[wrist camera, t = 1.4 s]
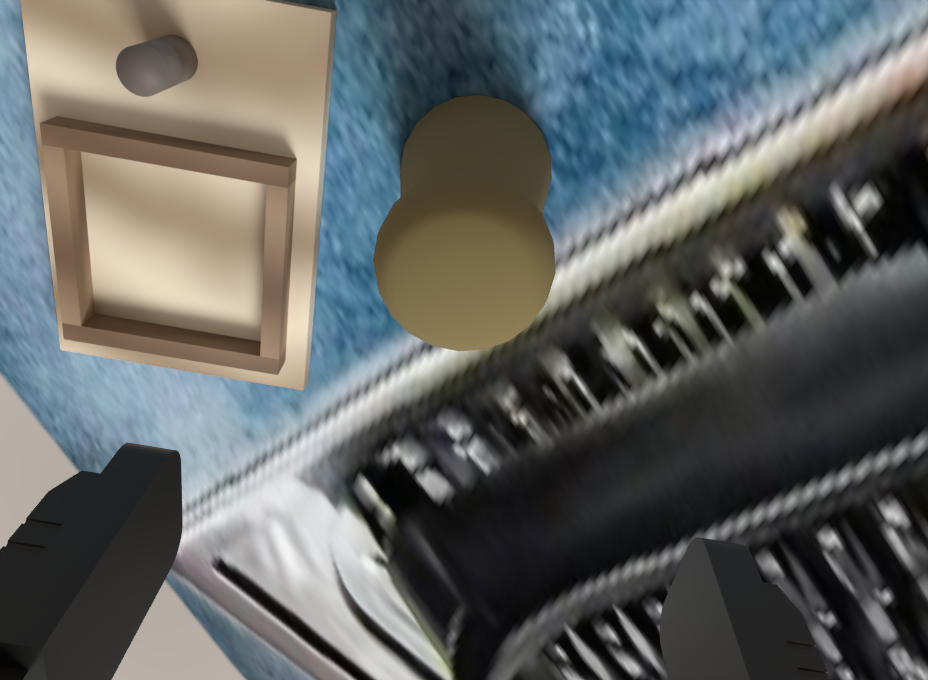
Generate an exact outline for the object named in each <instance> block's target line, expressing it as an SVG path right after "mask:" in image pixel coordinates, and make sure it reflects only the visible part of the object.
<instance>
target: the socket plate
mask: <svg viewBox="0 0 928 680" xmlns="http://www.w3.org/2000/svg"><path fill="white" fill-rule="evenodd" d="M21 9H22V18H23V27H24V35H25V44H26V53H27V61H28V70H29V79H30V88H31V96H32V105H33V114H34V122H35V131H36V140H37V148H38V157H39V166H40V175H41V183H42V192H43V201H44V209H45V218H46V227H47V236H48V244H49V253H50V262H51V270H52V279H53V288H54V296H55V305H56V314H57V323H58V331H59V340H60V349H61V350H64V351H70V352H76V353H82V354H88V355H94V356H100V357H106V358H112V359H118V360H124V361H130V362H136V363H142V364H148V365H154V366H160V367H166V368H172V369H178V370H184V371H190V372H196V373H202V374H208V375H214V376H220V377H226V378H232V379H238V380H244V381H250V382H256V383H262V384H267V385H273V386H279V387H285V388H291V389H297V390H304V388H305V386H306V384H307V382H308V379H309V368H310V354H311V341H312V328H313V315H314V302H315V289H316V276H317V263H318V250H319V237H320V224H321V211H322V198H323V185H324V171H325V158H326V145H327V132H328V119H329V106H330V93H331V80H332V67H333V54H334V41H335V28H336V15H337V10H333V9H327V8H322V7H317V6H311V5H306V4H301V3H295V2H290V1H285V0H21Z"/></svg>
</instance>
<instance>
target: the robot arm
mask: <svg viewBox="0 0 928 680" xmlns="http://www.w3.org/2000/svg"><path fill="white" fill-rule="evenodd" d="M181 534H182V485H181V458H180V454H179V452H178V451H176V450H170V449H163V448H157V447H151V446H145V445H139V444H133V443H126V444H124V445H123V446H122V447H121V448H120V449H119V450H118V451H117V453H116V454H115V455H114V457H113V458H112V459H111V461H110V462H109V463H108V465H107V466H106V467H105V469H104V470H103V471H102V472H101V474H99V473H93V472H87V471H81V472H79V473H77V474H76V475H74V476H73V477H71V478H69V479H68V480H66V481H65V482H63V483H62V484H60V485H58V486H57V487H55V488H53V489H52V490H50V491H49V492H48V493H47V494H46V495H45V496H44V498H43V499H42V500H41V501H40V502H39V504H38V505H37V506H36V507H35V508H34V510H33V511H32V512H31V513H30V515H29V516H28V517H27V518H26V522H25V524H21V525H20V527H19V528H18V529H17V530H16V531H15V533H14V534H13V535H12V536H11V537H10V539H9V540H8V544H7V546H6V547H2V548H1V549H0V680H111V679H112V678H113V676H114V673H115V672H116V670H117V668H118V666H119V664H120V663H121V660H122V659H123V657H124V655H125V653H126V651H127V649H128V648H129V646H130V644H131V642H132V640H133V638H134V636H135V634H136V633H137V631H138V629H139V626H140V625H141V623H142V621H143V619H144V618H145V616H146V614H147V612H148V610H149V608H150V606H151V604H152V603H153V601H154V599H155V597H156V595H157V593H158V591H159V589H160V588H161V586H162V584H163V582H164V580H165V578H166V576H167V574H168V573H169V571H170V569H171V567H172V565H173V562H174V560H175V557H176V555H177V551H178V548H179V544H180V540H181ZM660 642H661V648H662V653H663V657H664V662H665V666H666V671H667V675H668V680H831V679H829V678H827V669H826V667H825V665H824V663H823V660H822V658H821V656H820V654H819V652H816V650H815V647H816V645H815V642H814V640H813V638H812V636H811V633H810V631H809V629H808V627H807V624H806V622H805V620H804V618H803V615H802V614H801V612H800V611H799V610H798V609H797V608H796V607H795V605H794V604H793V603H792V602H791V601H790V600H789V598H788V597H787V596H786V595H785V594H784V593H783V591H782V590H781V589H780V588H779V587H778V586H777V585H775V584H769V583H763V582H762V580H761V577H760V575H759V572H758V570H757V567H756V565H755V562H754V560H753V557H752V555H751V553H750V551H749V549H748V548H747V547H746V546H744V545H741V544H735V543H729V542H723V541H716V540H710V539H704V538H694V539H693V540H692V541H691V542H690V544H689V546H688V548H687V550H686V553H685V555H684V557H683V560H682V562H681V564H680V567H679V569H678V571H677V574H676V576H675V579H674V581H673V583H672V586H671V588H670V590H669V593H668V595H667V597H666V600H665V602H664V605H663V608H662V613H661V619H660Z"/></svg>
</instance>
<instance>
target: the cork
mask: <svg viewBox="0 0 928 680" xmlns="http://www.w3.org/2000/svg"><path fill="white" fill-rule="evenodd" d="M550 182H551V156H550V152H549V150H548V147H547V144H546V142H545V139H544V137H543V134H542V132H541V131H540V130H539V128H538V127H537V126H536V125H535V123H534V122H533V121H532V120H531V119H530V117H529V116H528V115H527V114H526V113H525V112H523V111H522V110H520V109H518V108H517V107H515V106H513V105H512V104H510V103H509V102H507V101H505V100H502V99H497V98H493V97H489V96H485V95H472V96H461V97H455V98H453V99H451V100H448V101H446V102H444V103H442V104H439V105H437V106H435V107H433V108H432V109H431V110H430V111H429V112H428V113H427V114H426V115H425V116H424V117H422V118H421V119H420V120H419V121H418V122H417V123H416V124H415V126H414V128H413V130H412V132H411V133H410V135H409V137H408V139H407V141H406V143H405V144H404V150H403V156H402V161H401V167H400V183H401V198H400V199H398V200H397V201H396V202H395V203H394V205H393V206H392V208H391V210H390V212H389V214H388V215H387V217H386V219H385V221H384V223H383V224H382V226H381V228H380V230H379V232H378V235H377V241H376V247H375V253H374V259H373V261H374V267H375V273H376V279H377V284H378V289H379V293H380V295H381V297H382V299H383V301H384V303H385V305H386V306H387V308H388V310H389V312H390V314H391V316H392V317H393V318H395V319H396V320H397V321H398V322H399V323H400V324H401V325H402V326H403V327H404V328H405V329H406V330H407V331H408V332H409V333H410V334H412V335H414V336H416V337H418V338H419V339H421V340H423V341H425V342H427V343H429V344H431V345H433V346H437V347H442V348H446V349H451V350H456V351H467V350H483V349H487V348H490V347H493V346H496V345H498V344H501V343H504V342H507V341H509V340H511V339H512V338H513V337H515V336H516V335H517V334H519V333H520V332H521V331H523V330H524V329H526V328H527V327H528V326H530V324H531V323H532V321H533V320H534V319H535V317H536V316H537V314H538V313H539V312H540V310H541V309H542V308H543V306H544V305H545V303H546V301H547V299H548V295H549V292H550V289H551V286H552V282H553V279H554V276H555V256H554V244H553V239H552V236H551V234H550V231H549V229H548V226H547V224H546V221H545V219H544V216H543V214H542V212H543V209H544V205H545V201H546V197H547V194H548V190H549V186H550Z"/></svg>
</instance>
